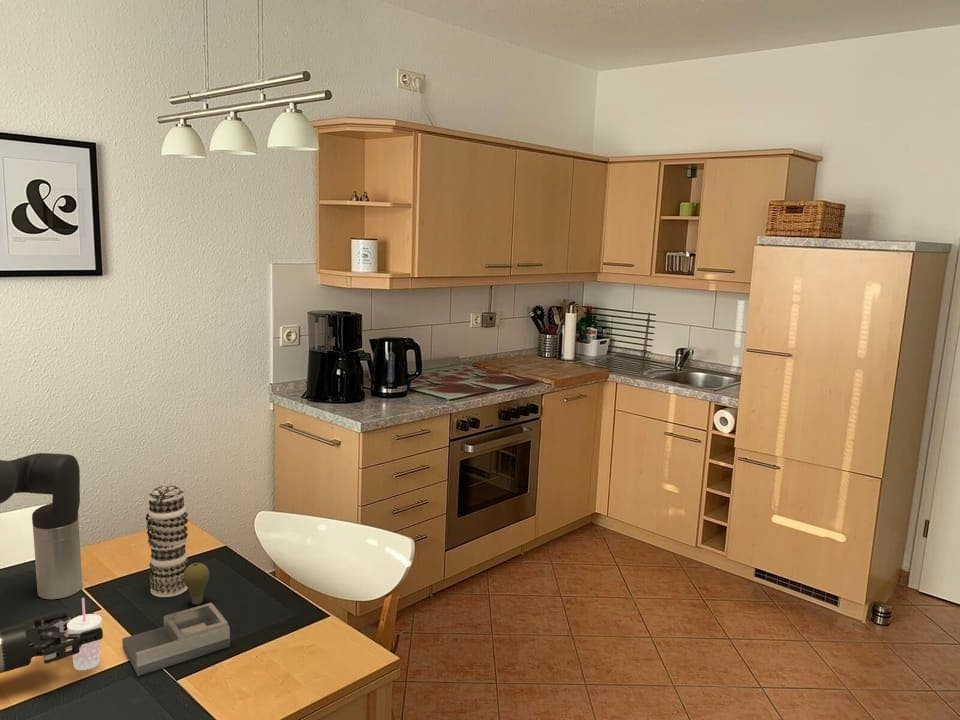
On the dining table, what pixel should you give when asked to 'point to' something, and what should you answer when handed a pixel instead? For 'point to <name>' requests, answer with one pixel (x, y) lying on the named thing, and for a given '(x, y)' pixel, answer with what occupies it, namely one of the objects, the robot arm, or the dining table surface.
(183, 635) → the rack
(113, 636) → the dining table surface
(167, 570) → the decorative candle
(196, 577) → the light bulb
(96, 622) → the beverage cup
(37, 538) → the robot arm
